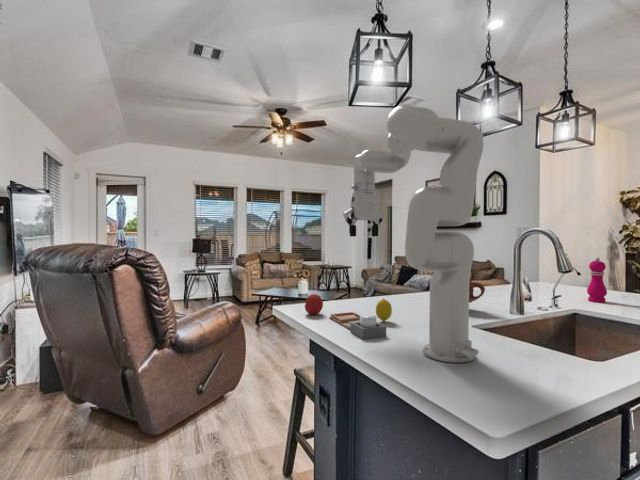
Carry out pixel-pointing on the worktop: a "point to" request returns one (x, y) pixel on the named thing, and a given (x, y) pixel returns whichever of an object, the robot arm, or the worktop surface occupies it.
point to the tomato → (313, 304)
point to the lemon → (383, 310)
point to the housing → (368, 331)
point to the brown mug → (471, 286)
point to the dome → (367, 321)
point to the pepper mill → (597, 282)
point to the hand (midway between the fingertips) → (364, 236)
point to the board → (345, 319)
